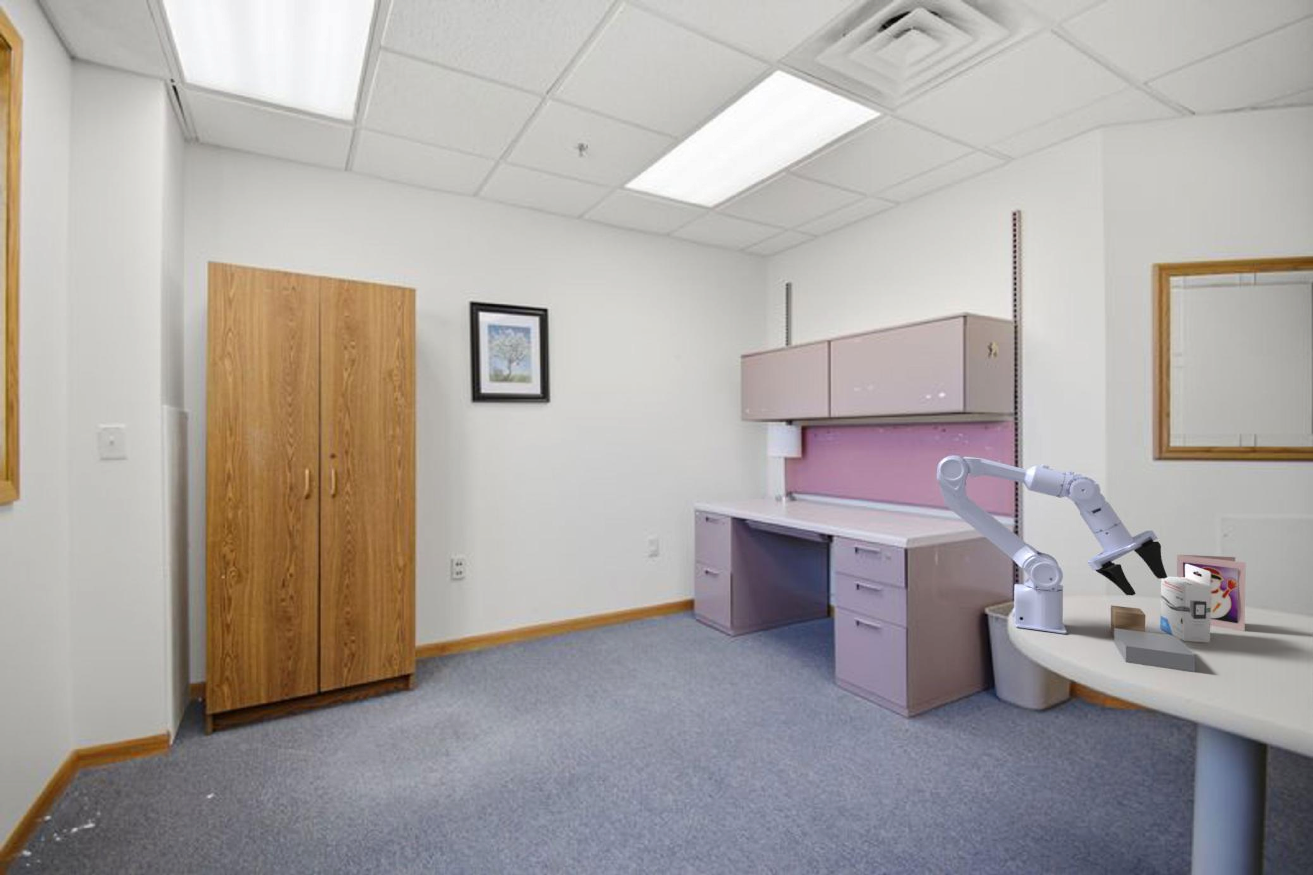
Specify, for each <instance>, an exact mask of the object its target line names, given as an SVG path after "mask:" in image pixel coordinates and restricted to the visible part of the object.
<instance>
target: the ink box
mask: <svg viewBox="0 0 1313 875" xmlns="http://www.w3.org/2000/svg"><path fill="white" fill-rule="evenodd" d="M1197 571H1198V573H1200V574H1201V575H1202V577H1200V576H1197V575H1195V574H1194V572H1197ZM1159 612H1160V618H1159V621H1160V623H1159V625H1160V629H1161V630H1163V631H1165V632H1166V633H1168V634H1169V635H1172V636H1177V637H1178V638H1179V639H1180V640H1181V641H1182V642H1191V643H1192V642H1194V643H1195V642H1197V643H1208V644H1209V643H1211V625H1210V619H1211V572H1210V571H1207V570H1204V569H1201V568H1198V567H1195V566H1192V565H1189V564H1185V577H1177V576H1170V575H1169V576H1167V578H1165V579H1160V611H1159Z"/></svg>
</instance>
